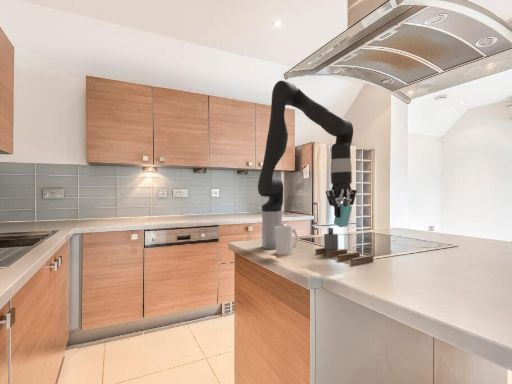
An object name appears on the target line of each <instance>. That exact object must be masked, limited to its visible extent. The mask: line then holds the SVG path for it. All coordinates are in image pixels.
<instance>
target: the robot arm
mask: <svg viewBox="0 0 512 384" xmlns="http://www.w3.org/2000/svg"><path fill="white" fill-rule="evenodd" d="M270 105H271V106H270V107H271V108H270V118H269V125H268V133H267V135H266V136H267V137H266V143H265V151H264V157H263V162H262V167H261V170H260V174H259V179H258V183H257V192H258V195H259V196H261V197H263V198H264V197H265V198H266V197H268V200H267V201H266V203H263V204H261V220H262V221H261V224H262V225H261V244H262V245H261V246H262V249H266V250H276V235H275V227H276V226H283V224H282V223H283V222H282V221H283V219H282V217H283V216H282V213H283V212H282V208H283V204H284V183H283V181H282V179H281V178H280V177H277V176H274V172H275V169H276V167H277V165H278V163H279V162H280V160H281V159H282V158H283V156H284V154H285V153H286V151H287V146H288V145H287V144H288V140H289V133H288V128H287V123H286V121H285V120H286V119H285V112H286V106H291V107H294V108H296V109H298V110H299V111H301V112H303V114H304V115H305V116H306V118H308V119H309V120H310V121H312V123H313V122H314V123H315V124H316V125H318V126H320V127H321V129H323V130H324V131H325V132H327V134H329V135H331V136H333V137H336V138H335V143H334V144H332V145H331V147H330V160H331V161H330V184H331V185H332V186H331V189H329V190H325V195H326V198H327V201H328V204H329V206H331V207H333V211H334V212H333V214H334V218H335V217H338V218H339V217H340V208H339V207H340V204H342V203H343V201H344V198H347V199H349V202H348V205H350V206H354V203H355V199H356V195H357V189H352V187H351V184H352V183H353V179H352V172H353V171H352V160H351V159H352V158H351V146H352V141H353V136H354V126H353V123H352V122H351V121H350V120H349V119H346V118H343V117H341V116H339V115H338V114H335V113H334V112H333V111H332V110H331V109H329V108H328V107H326V106H324V105H323V104H321V103H319V102H317V101H315V100H314V99H312V98H311V97H309V96H308V95H306V94H305V93H304V92H303V91H302V90H301V89H300V88H299V87H298V86H297V85H295V84H294V83H291V82H288V81H285V80H279V81H277V82H276V83H275V85H274V87H273V89H272V93H271V104H270Z"/></svg>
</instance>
